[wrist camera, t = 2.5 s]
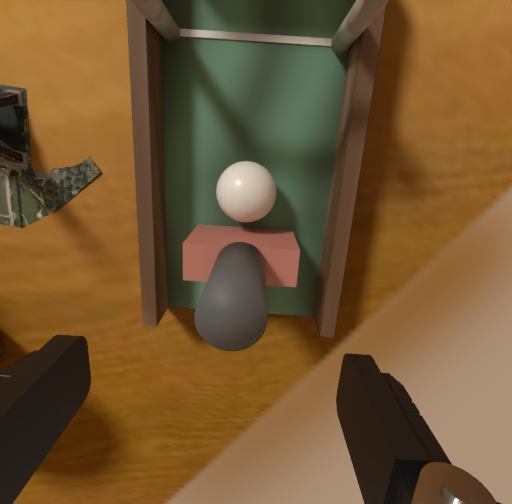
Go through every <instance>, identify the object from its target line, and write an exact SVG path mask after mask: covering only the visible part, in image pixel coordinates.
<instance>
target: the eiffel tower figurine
mask: <svg viewBox="0 0 512 504" xmlns="http://www.w3.org/2000/svg"><path fill="white" fill-rule="evenodd" d="M99 173H101V172H100V170H99V169H98V168H97V166H96V165H95V163H94V162H93V161H92V159H91V158H90V157H88V158H87V159H86V160H84V161H83V162H82V163H81V164H79V165H76V166H72V167H65V168H59V169H52V171H51V172H50V173H47V172H43V171H38V170H37V169H35V168H33V167H32V165H31V151H30V136H29V122H28V108H27V93H26V89H23V88H17V87H11V86H5V85H0V224H4V225H10V226H16V227H20V228H23V227H25V226H26V225H29V224H32V223H34V222H36V221H38V220H39V219H40V218H41V217H44V216H47V215H48V214H49V212H52V213H55V212H57V211H58V210H59V209H60V208H61V207H62V206H63V205H64V204H66V203H67V202H68V201H69V200H70V199H71V198H72V197H73V196H74V195H76V194H77V193H78V192H79V191H80V190H81V189H82V188H83V187H84V186H86V185H87V184H88V183H89V182H90V181H91V180H92V179H93V178H95V177H96V176H97V175H98V174H99Z"/></svg>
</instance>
